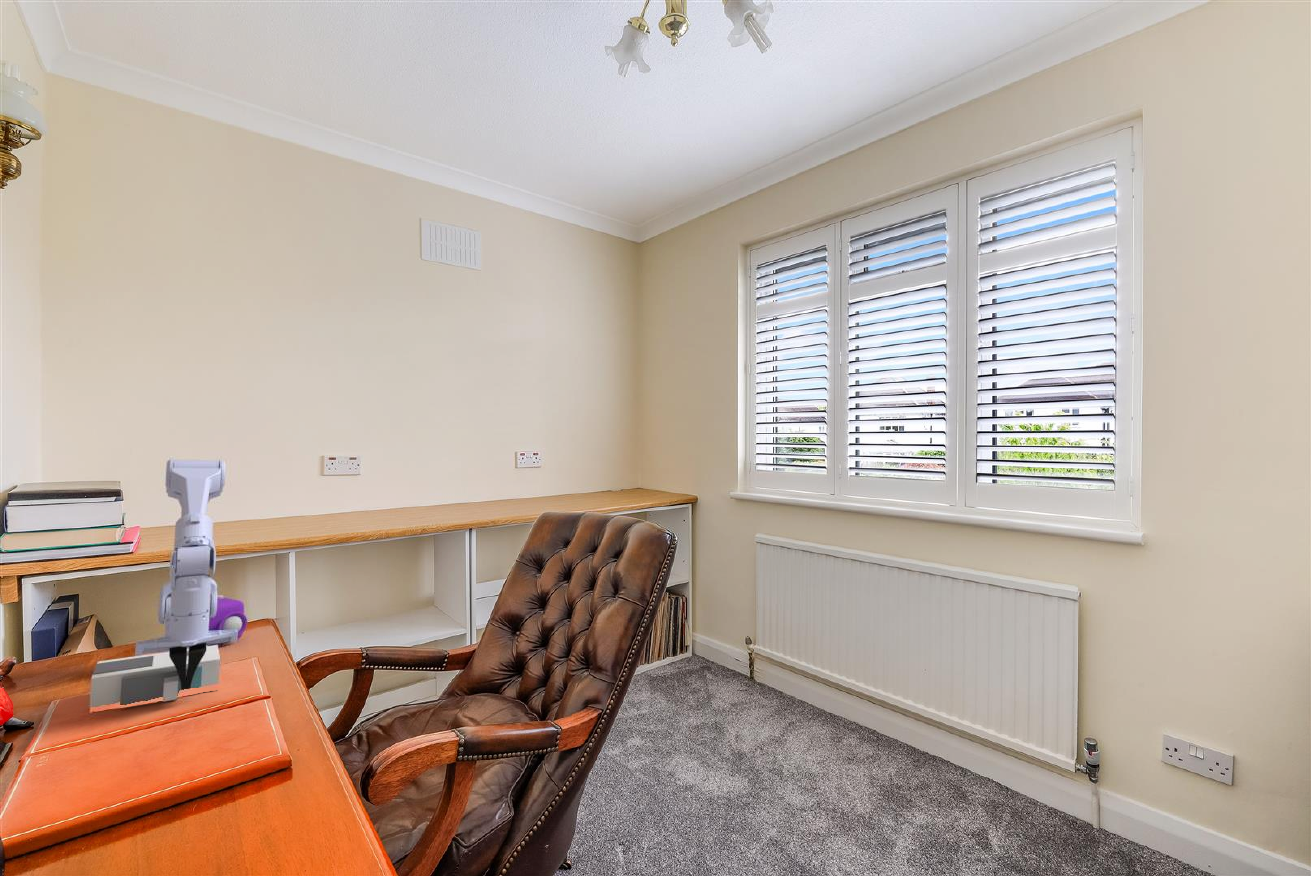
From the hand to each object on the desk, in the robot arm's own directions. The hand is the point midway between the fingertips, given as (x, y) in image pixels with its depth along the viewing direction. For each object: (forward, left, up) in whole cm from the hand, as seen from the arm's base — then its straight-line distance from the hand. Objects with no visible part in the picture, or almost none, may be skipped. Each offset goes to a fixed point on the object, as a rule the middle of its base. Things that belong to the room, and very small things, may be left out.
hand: (185, 687), depth 107 cm
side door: (-1, -5, -3) cm, 6 cm away
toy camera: (-38, +6, -3) cm, 38 cm away
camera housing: (-9, -4, -3) cm, 10 cm away
